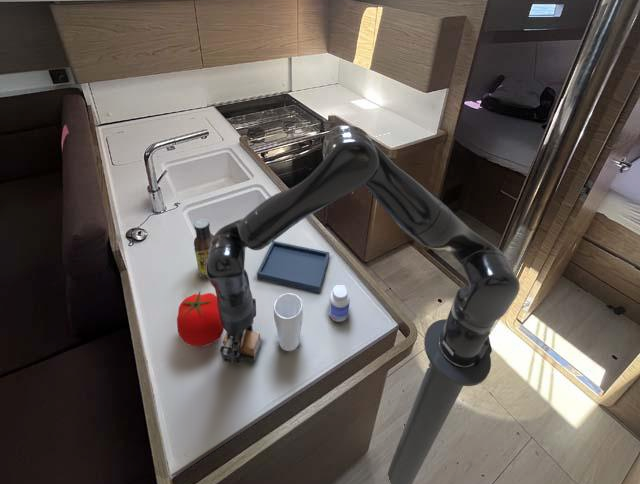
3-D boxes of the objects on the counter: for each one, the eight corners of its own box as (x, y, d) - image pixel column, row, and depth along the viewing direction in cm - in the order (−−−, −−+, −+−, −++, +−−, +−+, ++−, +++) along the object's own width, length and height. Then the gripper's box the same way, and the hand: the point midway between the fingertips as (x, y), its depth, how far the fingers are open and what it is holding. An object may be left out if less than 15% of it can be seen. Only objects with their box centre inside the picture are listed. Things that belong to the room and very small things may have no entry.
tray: (329, 257, 106) (329, 252, 105) (319, 292, 95) (319, 287, 94) (273, 245, 110) (272, 240, 109) (257, 278, 99) (256, 272, 98)
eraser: (262, 342, 82) (260, 331, 80) (254, 362, 78) (252, 351, 76) (233, 334, 84) (231, 323, 81) (223, 354, 80) (221, 342, 77)
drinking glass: (273, 333, 84) (270, 297, 77) (298, 325, 86) (297, 289, 79) (279, 359, 79) (277, 323, 71) (306, 349, 81) (306, 313, 73)
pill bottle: (351, 318, 88) (354, 296, 83) (333, 325, 87) (335, 302, 82) (343, 301, 93) (345, 279, 88) (325, 307, 91) (327, 285, 86)
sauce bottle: (202, 282, 97) (190, 234, 87) (197, 268, 101) (185, 220, 91) (223, 273, 100) (214, 226, 90) (217, 260, 104) (208, 213, 94)
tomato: (207, 366, 77) (198, 335, 70) (170, 342, 82) (158, 310, 75) (239, 324, 86) (233, 293, 79) (204, 305, 91) (196, 274, 84)
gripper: (236, 341, 65) (244, 381, 74) (263, 282, 77) (267, 323, 86) (203, 332, 67) (214, 373, 75) (235, 276, 79) (241, 316, 87)
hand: (243, 346), depth 81 cm, fingers open, 6 cm apart
